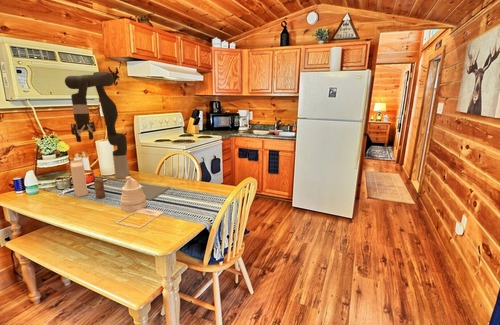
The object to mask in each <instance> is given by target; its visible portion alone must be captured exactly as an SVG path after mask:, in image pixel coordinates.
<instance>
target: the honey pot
mask: <svg viewBox="0 0 500 325" xmlns="http://www.w3.org/2000/svg"><path fill="white" fill-rule="evenodd" d="M125 179H126V182H125V183H124V186H122V187H121V190H122V193H121V196H120V200H119V202H120V209H121V211H123V212H126V213H133V212H135V211H137V210H139V209H142V208H145V209H146V207H147V200H146V197H145V195H144V193H143V190H142V189H141V188H142V187H143V186H142V185H141V184H140V183H138V181H137V180H136V179H134V178H133V177H132V176H131V175H129V176H128V177H126V178H125Z"/></svg>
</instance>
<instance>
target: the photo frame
mask: <svg viewBox="0 0 500 325" xmlns="http://www.w3.org/2000/svg"><path fill="white" fill-rule="evenodd" d="M134 214H137V215H138V214H140V215H145V216H150V217H153V218H151V219H149V220H148V221H146V222H145V223H144V224H142V225H140V226H137V225H132V224H128V223H127V224H126V223H121V222H122V221H124V220H126V219H128V218H129V217H131V216H134ZM163 214H165V212H164V211H161V210H155V209H149V208H146V207H145V208H142V209H139V210H137V211H133V212H131V213H130V214H128V215H126V216H125V217H122V218H121V219H120V220H118V221H116V222H115V223H114V224H115V225H121V226H126V227H129V228H135V229H142V228H144V227H145V226H147V225H148V224H149V223H151V222H153V221H154V220H156V219H157V218H158V217H161V216H162V215H163Z"/></svg>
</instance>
